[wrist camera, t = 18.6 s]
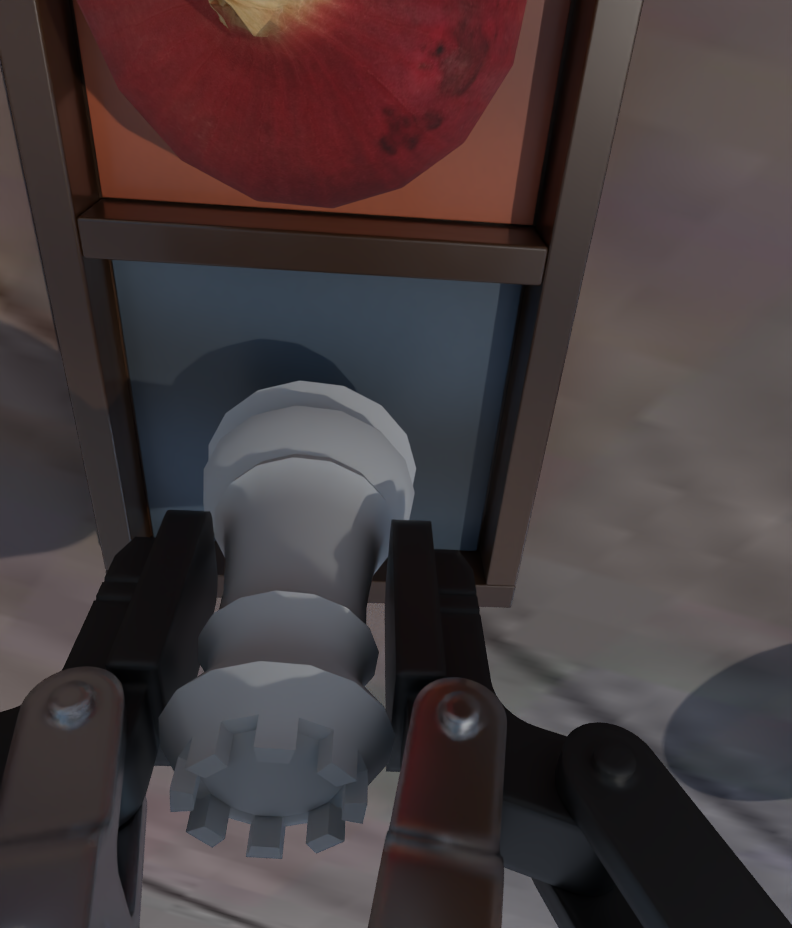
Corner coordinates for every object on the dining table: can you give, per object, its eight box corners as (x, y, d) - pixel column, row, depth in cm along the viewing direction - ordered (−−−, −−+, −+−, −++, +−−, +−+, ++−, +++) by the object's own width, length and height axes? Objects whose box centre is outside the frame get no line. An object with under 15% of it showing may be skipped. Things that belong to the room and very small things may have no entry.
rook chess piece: (446, 498, 17) (494, 847, 10) (277, 563, 18) (216, 919, 11) (359, 334, 14) (343, 645, 8) (169, 420, 15) (8, 761, 9)
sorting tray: (-43, -465, 10) (-130, -558, 8) (684, -383, 11) (744, -454, 9) (132, 542, 21) (109, 594, 19) (500, 557, 21) (511, 608, 19)
